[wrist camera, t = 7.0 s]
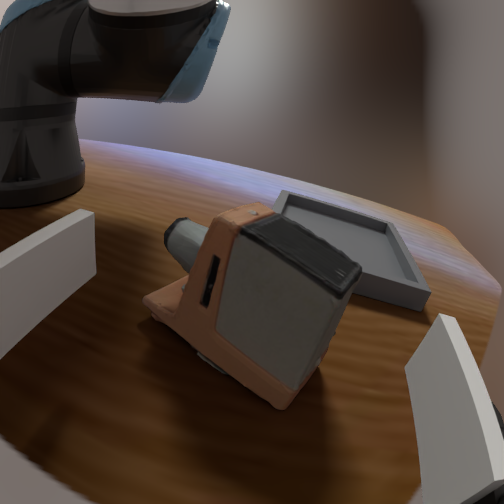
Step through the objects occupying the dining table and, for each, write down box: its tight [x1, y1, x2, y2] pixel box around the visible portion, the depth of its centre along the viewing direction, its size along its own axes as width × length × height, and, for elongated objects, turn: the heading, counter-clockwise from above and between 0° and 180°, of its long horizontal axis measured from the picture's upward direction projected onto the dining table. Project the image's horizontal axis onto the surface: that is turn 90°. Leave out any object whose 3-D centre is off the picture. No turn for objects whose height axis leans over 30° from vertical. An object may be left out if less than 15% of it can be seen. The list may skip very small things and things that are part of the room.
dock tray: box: [271, 190, 431, 312], centre depth 31 cm, size 15×17×2 cm
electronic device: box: [142, 202, 362, 410], centre depth 15 cm, size 4×10×8 cm, turn 56°
